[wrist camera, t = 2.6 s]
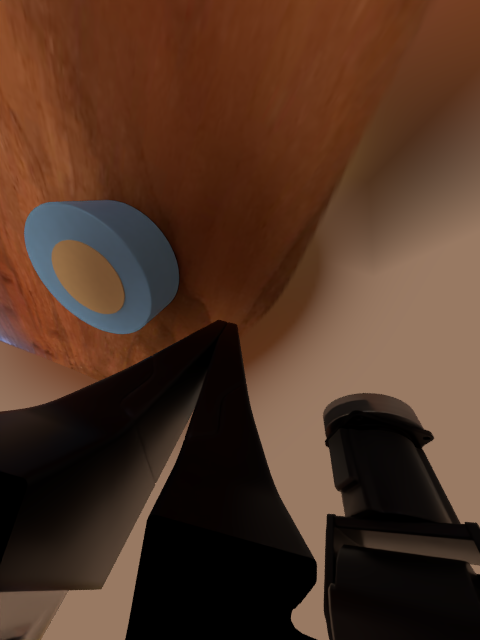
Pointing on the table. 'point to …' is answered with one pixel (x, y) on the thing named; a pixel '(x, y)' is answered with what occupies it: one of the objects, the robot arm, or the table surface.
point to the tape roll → (102, 262)
